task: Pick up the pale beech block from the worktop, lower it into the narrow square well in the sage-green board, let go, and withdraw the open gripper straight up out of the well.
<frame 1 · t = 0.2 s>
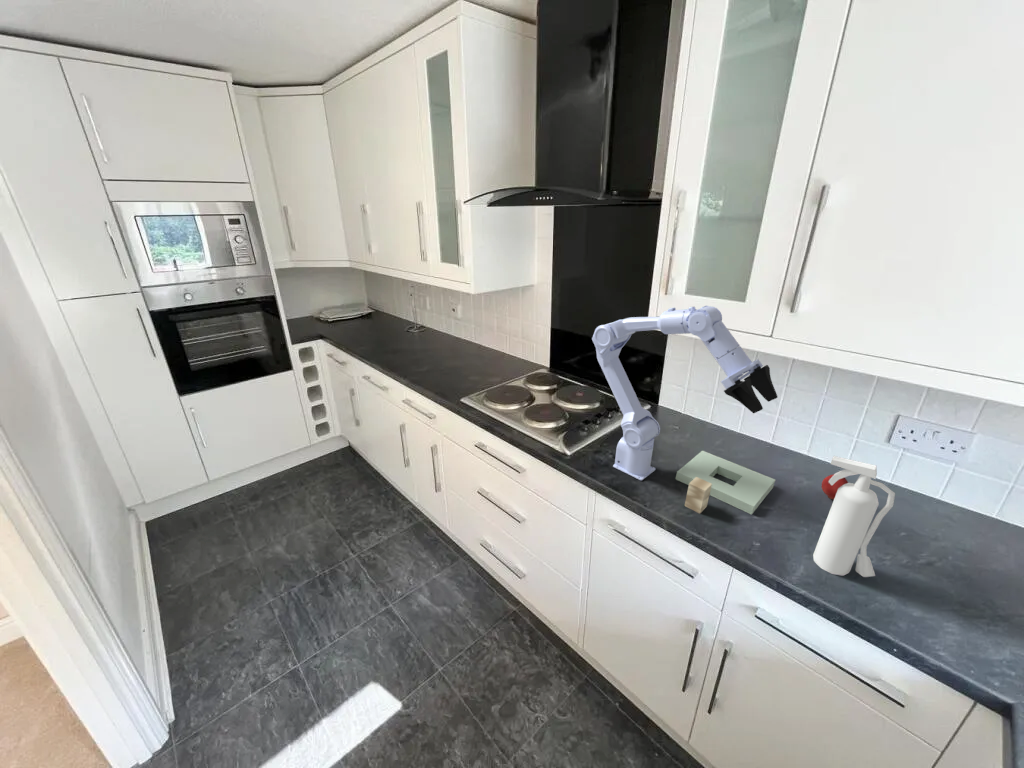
hand: (765, 405, 91), 31 cm above the worktop, tool tilted 45°, fingers open, 7 cm apart
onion: (830, 499, 111), on the worktop
well board: (723, 483, 116), on the worktop
beech block: (695, 506, 108), on the worktop
fire extinguisher: (834, 565, 90), on the worktop
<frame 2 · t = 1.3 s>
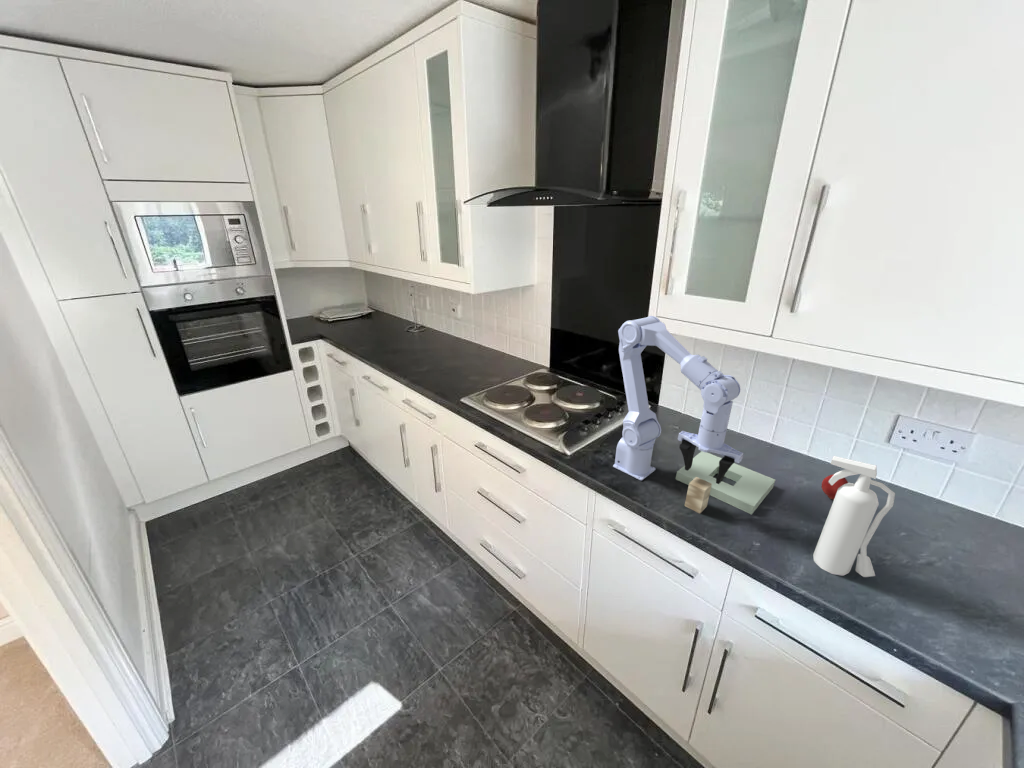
hand: (703, 475, 104), 10 cm above the worktop, tool pointing down, fingers open, 7 cm apart
nothing on the worktop moved.
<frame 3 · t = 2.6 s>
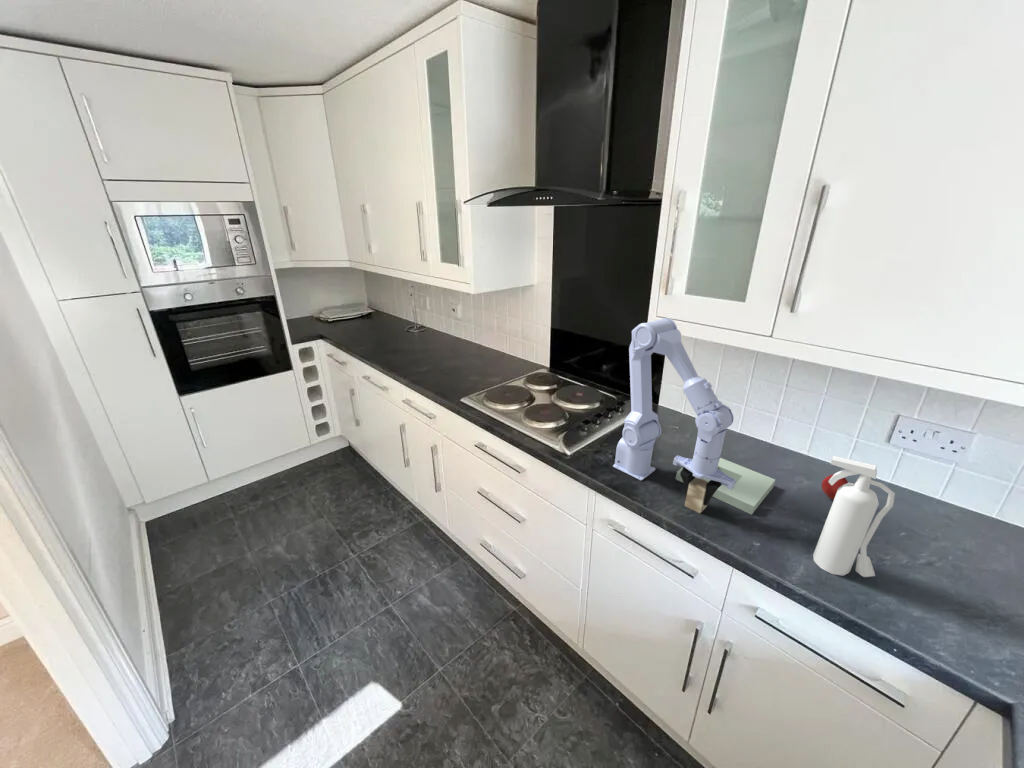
hand: (697, 499, 107), 2 cm above the worktop, tool pointing down, fingers closed on beech block, 4 cm apart
beech block: (695, 506, 108), on the worktop, touching gripper
everything else where it was.
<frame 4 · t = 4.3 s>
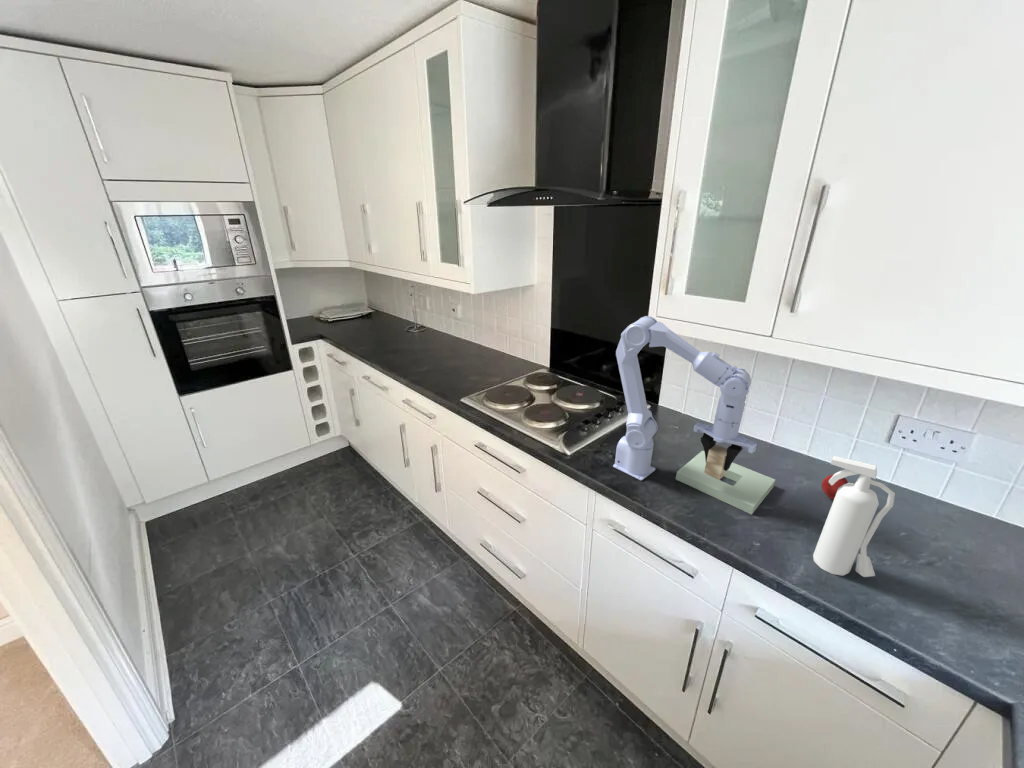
hand: (717, 465, 108), 9 cm above the worktop, tool pointing down, fingers closed on beech block, 4 cm apart
beech block: (714, 473, 109), point 7 cm above the worktop, touching gripper
everything else where it was.
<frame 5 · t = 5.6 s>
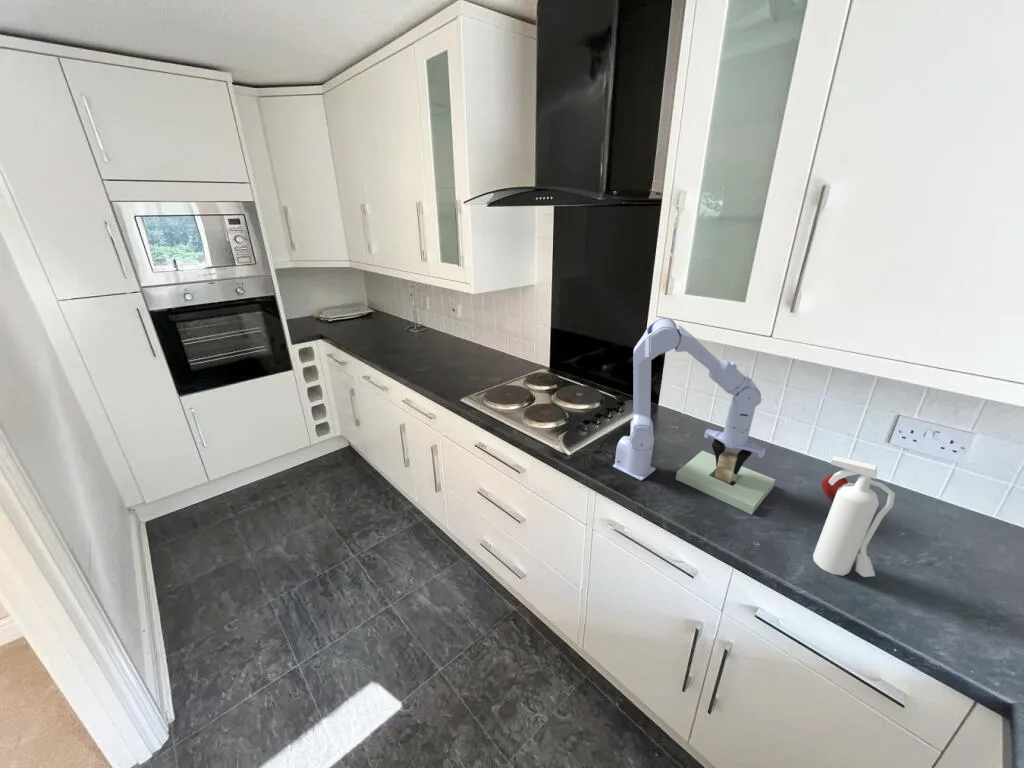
hand: (727, 468, 115), 5 cm above the worktop, tool pointing down, fingers closed on beech block, 4 cm apart
beech block: (724, 477, 115), point 2 cm above the worktop, touching gripper
everything else where it was.
when the fingers open (3 cm above the worktop, at t = 6.3 s): beech block stays where it is, resting in well board.
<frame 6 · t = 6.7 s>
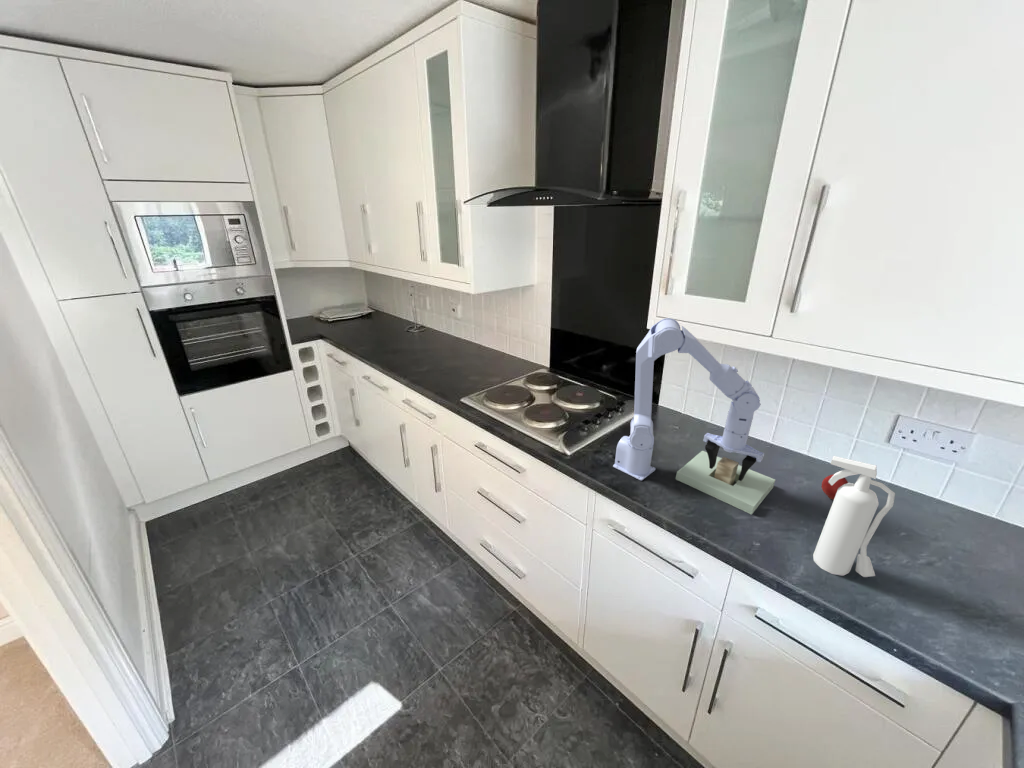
hand: (726, 472, 115), 3 cm above the worktop, tool pointing down, fingers open, 7 cm apart
beech block: (723, 483, 116), resting in well board
everything else where it was.
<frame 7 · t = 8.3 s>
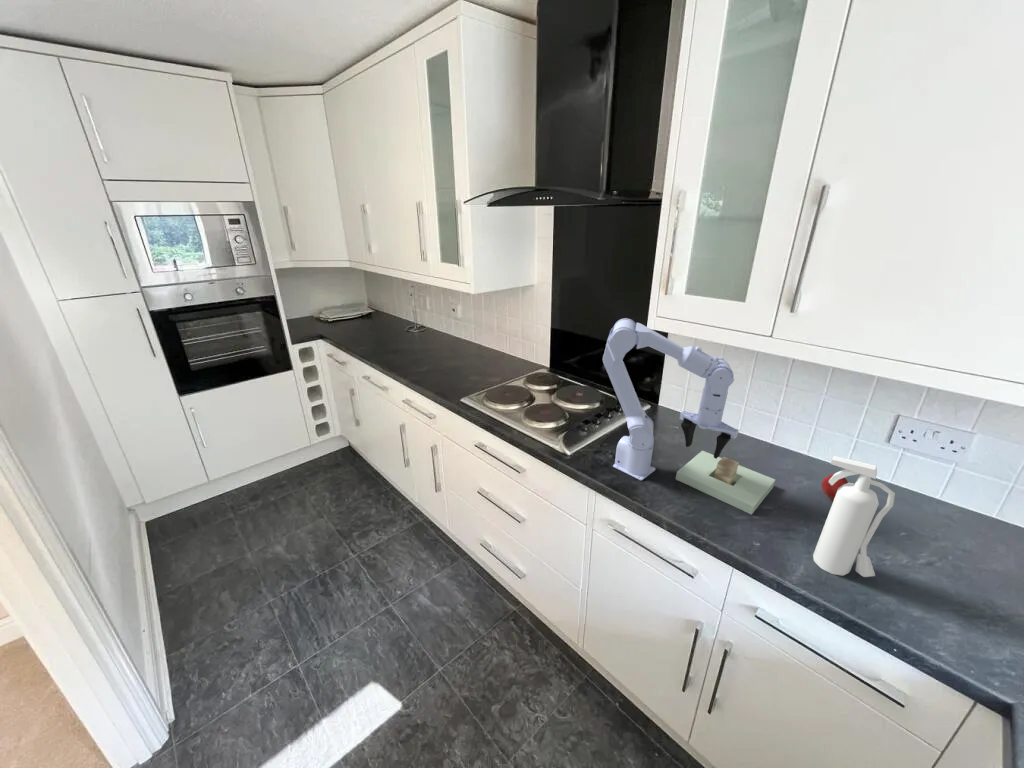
hand: (702, 451, 114), 9 cm above the worktop, tool pointing down, fingers open, 7 cm apart
nothing on the worktop moved.
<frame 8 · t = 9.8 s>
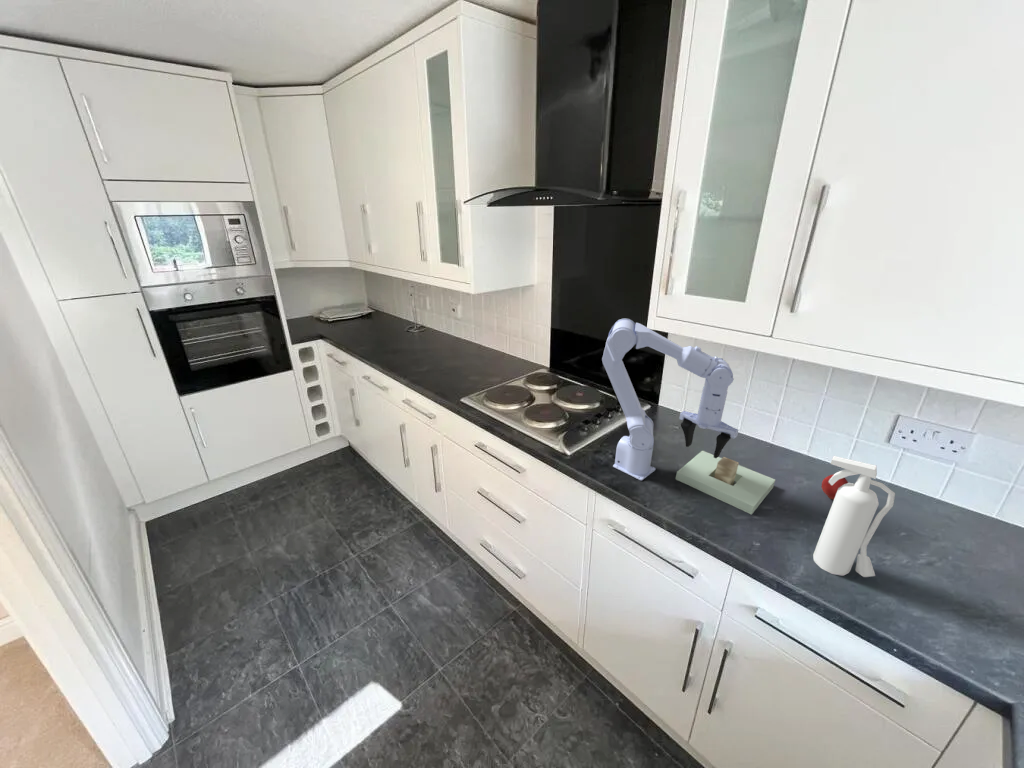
hand: (702, 450, 114), 9 cm above the worktop, tool pointing down, fingers open, 7 cm apart
nothing on the worktop moved.
at the end: beech block 0.4 cm off-centre on the well board, point 0.0 cm above the well board's base; beech block tilted 0°; the gripper is holding nothing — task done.
